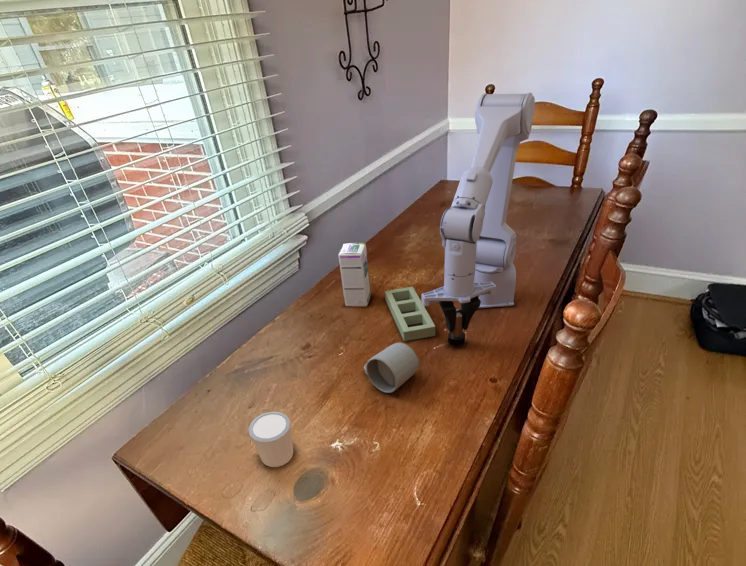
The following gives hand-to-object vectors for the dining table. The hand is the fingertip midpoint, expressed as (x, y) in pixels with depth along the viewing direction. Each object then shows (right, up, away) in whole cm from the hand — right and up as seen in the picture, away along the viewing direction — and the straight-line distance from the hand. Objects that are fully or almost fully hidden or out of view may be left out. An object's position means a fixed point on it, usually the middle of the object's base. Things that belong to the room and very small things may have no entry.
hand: (456, 328), depth 99 cm
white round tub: (-35, -23, -17) cm, 45 cm away
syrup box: (-20, +8, +21) cm, 30 cm away
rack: (-8, +3, +13) cm, 16 cm away
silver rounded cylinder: (0, -3, +2) cm, 3 cm away
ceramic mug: (-15, -10, -4) cm, 19 cm away
